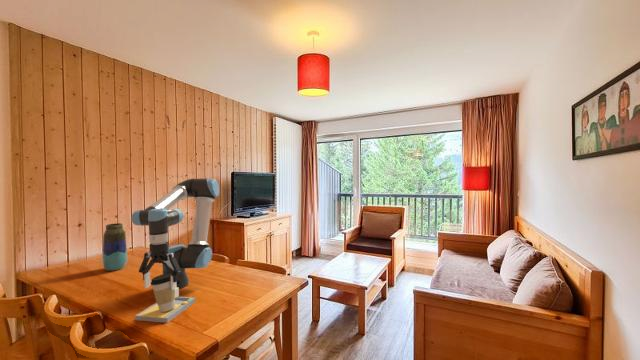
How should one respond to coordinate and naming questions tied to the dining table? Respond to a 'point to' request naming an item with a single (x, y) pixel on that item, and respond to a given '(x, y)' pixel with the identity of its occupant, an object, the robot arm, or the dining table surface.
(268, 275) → the dining table surface
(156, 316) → the panel
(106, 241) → the vase
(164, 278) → the coffee cup
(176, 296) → the breaker slider
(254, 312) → the dining table surface
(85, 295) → the dining table surface
